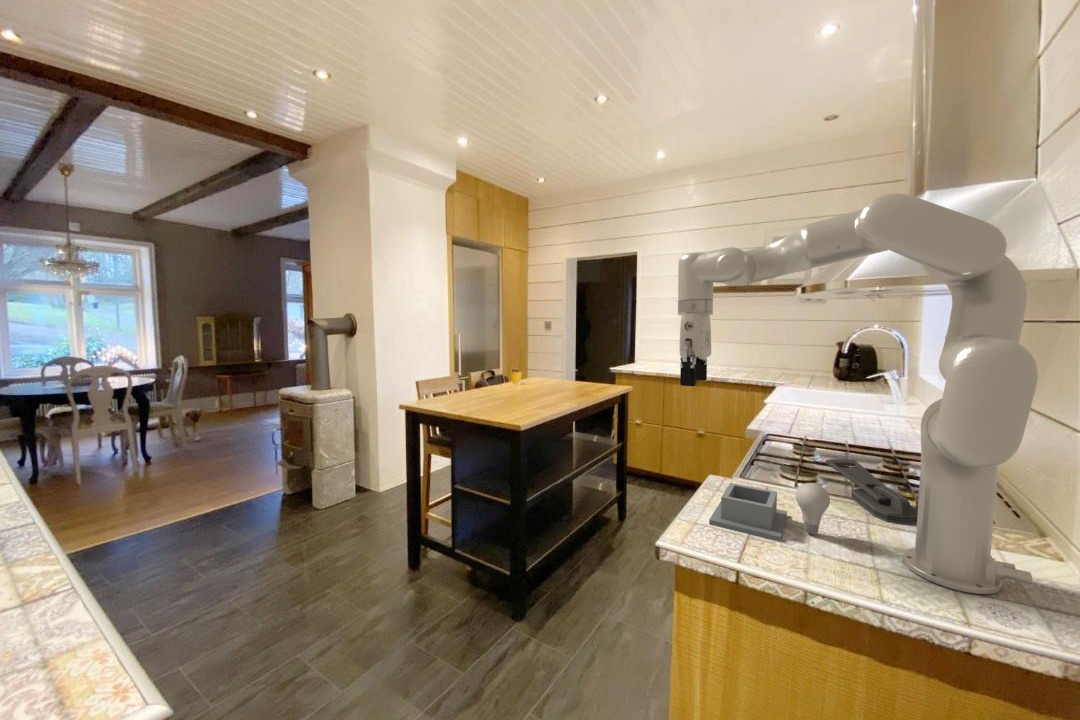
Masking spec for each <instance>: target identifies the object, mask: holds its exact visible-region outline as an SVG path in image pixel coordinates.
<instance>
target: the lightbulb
mask: <svg viewBox="0 0 1080 720" xmlns="http://www.w3.org/2000/svg"><path fill="white" fill-rule="evenodd" d="M795 501H796V502H797V504H798V507H799V508H800V510H801V514H802V521H803V530H804V531H805V532H806V533H808V535H816V534H818V533H819V529H820V524H821V521H822V517H823V514H824V513H825V512H826V511H827V510H828V508H829V507H830V503H831V497H830V495H829V493H828V490H826V489H825V488H824V487H823V486H821V485H820V484H817V483H816V482H815V483H814V482H806V483H803V484H801V485H799V486H798V487H797V489H796V491H795Z"/></svg>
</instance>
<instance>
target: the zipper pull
mask: <svg viewBox="0 0 1080 720" xmlns="http://www.w3.org/2000/svg"><path fill="white" fill-rule="evenodd" d="M825 464H826V465H828V466H829V467H830V468H832V469H834V470H835V471H836V472H838V473H839V474H840V475H842V476H843V477H845V479H847V480H849V482H851V483H853V484H854V485H856V486H857V487H859V488H856V489H853V490H852V491H851V500H853V501H854V502H855V503H856V504H858V505H859V506H860V507H861V508H862V509H864V510H865V511H866V512H868V513H869V514H870V515H871V516H873V517H874V518H877V519H879V520H881V521H883V522H886V523H890V524H891V523H892V524H899V525H915V524H916V525H917V514H918V508H916V507H914V506H912V505H911V502H910V500H909V499H908V498H907V497H905V496H903V495H902V494H899V493H898V492H896V491H894V490H893V489H891V488H889V487H888V486H887V485H886V484H884V483H882V482H881V481H880V480H879V479H878V478H877V477H875V476H874V475H873V474H872V473H871V472H869V470H867V469H866V468H865V467H863V465H861V464H860V462H858V461H856V460H855V459H845V458H831V459H826V460H825ZM841 466H845V467H841ZM846 466H849V467H846ZM871 488H873V489H871Z"/></svg>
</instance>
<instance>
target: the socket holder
mask: <svg viewBox="0 0 1080 720" xmlns="http://www.w3.org/2000/svg"><path fill="white" fill-rule="evenodd" d="M777 499H778V491H775V490H771V489H770V490H769V489H765V488H759V487H754V486H749V485H743V484H739V483H735V482H734V483H733V482H730V483H729V484H728V486H727V487H726V489H725V490H724V492H723V494H722V495H721V496H720V502H719V503H718V505H717V507H716V508H715V510H714V512H713V513H712V515H711V517H710V518H709V520H708V523H709V525H711V524H713V525H712V526H715V525H716V527H718V528H719V527H720V528H724V529H728V530H731V531H732V530H733V531H736V532H739V533H744V534H748V535H753V536H756V537H760V538H765V539H769V540H772V541H777V542H781V541H782V537H783V534H784V530H783V529H785V526H784V525H786V522H785V521H787V518H788V511H787V510H782V509H778V508H777V505H778V503H777V502H778V500H777ZM786 517H787V518H786Z"/></svg>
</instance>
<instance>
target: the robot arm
mask: <svg viewBox="0 0 1080 720" xmlns="http://www.w3.org/2000/svg"><path fill="white" fill-rule="evenodd" d="M1007 246H1008V244H1007V239H1006V237H1005V235H1004V233H1003V232H1002V231H1001V230H1000V229H999V228H997V227H996V226H995V225H994V224H992V223H989V221H985V220H982V219H980V218H977V217H975V216H971V215H969V214H965V213H964V212H963V213H962V212H960V211H956V210H954V209H950V208H947V207H945V206H942V205H940V204H937V203H934V202H931V201H928V200H925V199H922V198H919V197H916V196H913V195H910V194H905V193H899V192H898V193H896V192H895V193H892V192H891V193H888V194H883V195H880V196H878V197H876V198H874V199H872V200H871V201H870V202H868V203H867V204H866V205H865V206H864V207H863V208H861V209H858V210H854V211H851V212H847V213H844V214H840V215H837V216H833V217H830V218H826V219H822V220H819V221H816V222H811V223H808V224H805V225H803V226H800V227H799V228H797V229H795V230H794V231H793V232H791V233H790V234H789V235H786V237H784V238H782V239H778V240H777V241H775V242H772V243H770V244H766V245H763V246H759V247H756V248H752V249H748V250H742V249H740V248H739V247H734V246H733V247H732V246H731V247H725V248H720V249H715V250H712V251H707V252H700V251H699V252H689V253H685V254H682V255H681V256H680V257H679V260H678V264H677V265H678V268H677V269H678V274H677V277H678V278H677V280H678V281H677V282H678V283H677V286H678V287H677V316H680V325H679V326H680V327H679V356H680V363H679V364H680V377H679V378H680V381H679V383H680V386H684V387H695V386H696V382H697V381H701V382H702V381H707V380H708V379H707V377H708V376H707V375H708V358H709V357H710V356H712V328H711V327H712V326H711V315H713V314H714V311H713V309H714V284H715V283H717V284H724V285H725V284H726V285H730V286H733V287H734V286H735V287H736V286H737V287H738V286H745V285H749V284H753V283H758V282H762V281H766V280H770V279H774V278H779V277H781V276H786V275H790V274H794V273H799V272H804V271H807V270H810V269H815V268H819V267H823V266H827V265H832V264H834V263H839V262H843V261H844V262H845V261H847V260H848V261H849V260H853V259H857V258H861V257H867V256H870V255H871V256H872V255H875V254H879V253H883V252H887V251H891V252H892V253H895V254H898V255H900V256H902V257H904V258H906V259H908V260H909V259H910V260H912V261H914V262H916V263H919V264H921V265H922V268H923V270H924V271H925V273H926V274H928V275H929V276H930V277H932V278H934V279H935V280H937V281H940V282H942V283H943V284H944V285H945V286H946V287H947V288H948V289H949V292H950V295H951V310H950V315H949V316H950V317H949V322H948V326H947V330H946V336H945V339H944V343H943V345H942V346H943V347H942V350H941V353H940V357H939V361H938V369H939V372H940V374H941V376H942V378H943V379H944V380H945V384H944V388H943V389H944V390H943V393H942V397H941V398H940V399H938V400H935V401H933V402H932V403H931V404H930V405H929V406H928V407H927V408H926V409H925V411H924V413H923V414H922V418H921V422H920V448H921V449H920V457H921V458H920V471H919V473H920V474H919V475H920V476H919V487H918V488H919V489H918V501H917V502H918V503H917V510H918V514H917V523H916V531H915V533H916V534H915V546H914V548H909V549H908V550H905V551H904V552H903V555H902V556H903V563H904V564H905V566H907V568H908V569H909V570H910V571H912V572H914V573H915V574H917V575H918V576H920V577H922V578H923V579H926V580H928V581H929V582H933V584H937V585H940V586H942V587H945V588H948V589H951V590H956V591H959V592H964V593H968V594H974V595H975V594H976V595H992V594H996V593H997V594H998V593H999V592H1000V591H1002V587H1003V586H1002V585H1003V580H1004V579H1008V580H1012V581H1014V582H1018V583H1022V584H1026V585H1032V583H1033V575H1032V573H1031V571H1026V570H1022V569H1017V568H1016V565H1015V564H1014V563H1010V562H1005V561H1000V560H996V559H995V558H993V556H992V541H993V533H994V532H993V531H994V521H995V520H994V519H995V508H996V496H997V488H998V487H997V485H998V466H1000V465H1002V464H1004V463H1006V462H1007V461H1009V460H1010V459H1011V458H1013V457H1014V455H1016V452H1018V450H1019V448H1020V445H1021V444H1022V441H1023V438H1024V434H1025V431H1026V426H1027V423H1028V420H1029V415H1030V412H1031V409H1032V404H1033V401H1034V397H1035V394H1036V389H1037V385H1038V379H1039V378H1038V377H1039V376H1038V375H1039V374H1038V365H1037V361H1036V360H1035V359H1036V358H1035V357H1034V356H1033V354H1032V353H1031V351H1029V350H1028V349H1027V348H1026V347H1025V346H1023V345H1021V344H1020V340H1021V335H1022V330H1023V327H1024V326H1023V325H1024V319H1025V312H1026V308H1027V298H1028V297H1027V296H1028V294H1027V293H1028V292H1027V286H1026V285H1027V284H1026V281H1025V280H1024V279H1025V278H1024V277H1023V275H1022V273H1021V271H1020V270H1019V268H1018V267H1017V266H1016V264H1015V263H1014V262H1013V261H1012V260H1011V259H1010V258H1009V257H1008V255H1006V252H1007V248H1008V247H1007Z"/></svg>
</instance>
